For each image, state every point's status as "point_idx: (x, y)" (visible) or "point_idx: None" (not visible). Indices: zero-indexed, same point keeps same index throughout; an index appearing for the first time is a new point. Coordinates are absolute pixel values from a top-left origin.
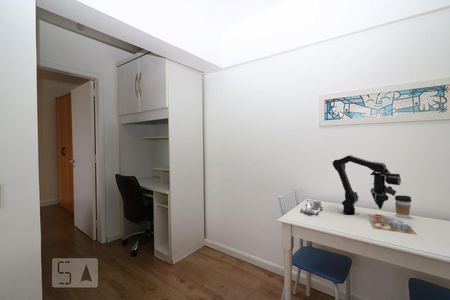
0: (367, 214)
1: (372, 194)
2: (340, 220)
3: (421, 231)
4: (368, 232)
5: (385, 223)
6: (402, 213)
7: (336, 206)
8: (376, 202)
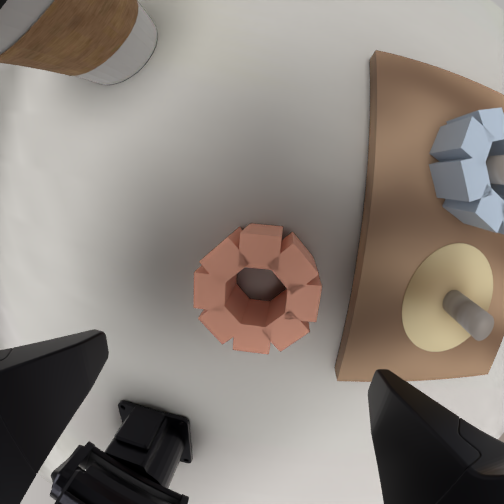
0: (109, 313)
1: (16, 502)
2: (326, 486)
3: (402, 13)
4: (492, 385)
5: (393, 258)
6: (128, 23)
7: (66, 432)
8: (87, 371)
